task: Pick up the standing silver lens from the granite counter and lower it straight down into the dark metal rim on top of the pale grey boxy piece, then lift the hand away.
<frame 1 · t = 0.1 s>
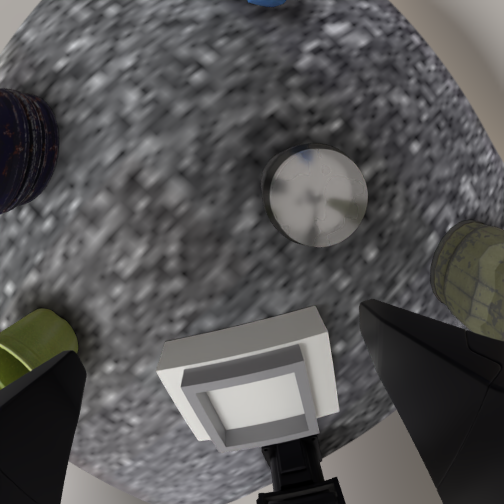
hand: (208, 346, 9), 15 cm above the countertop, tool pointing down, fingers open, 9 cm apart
thermos: (462, 263, 25), on the countertop
grey boxy piece: (252, 366, 27), on the countertop
lens: (295, 183, 22), on the countertop
storage jar: (17, 149, 19), on the countertop
plant pot: (53, 333, 25), on the countertop
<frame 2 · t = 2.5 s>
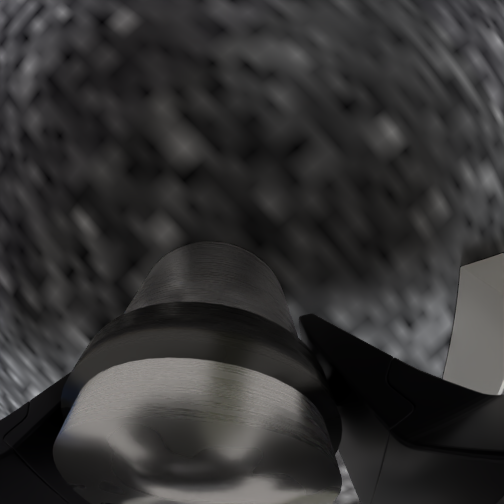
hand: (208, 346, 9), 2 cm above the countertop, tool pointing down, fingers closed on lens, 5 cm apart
grey boxy piece: (501, 352, 13), on the countertop
lens: (212, 311, 10), on the countertop, touching gripper
when the fingers open (7 cm above the countertop, at t = 6.9 s): lens drops 1 cm, resting on grey boxy piece.
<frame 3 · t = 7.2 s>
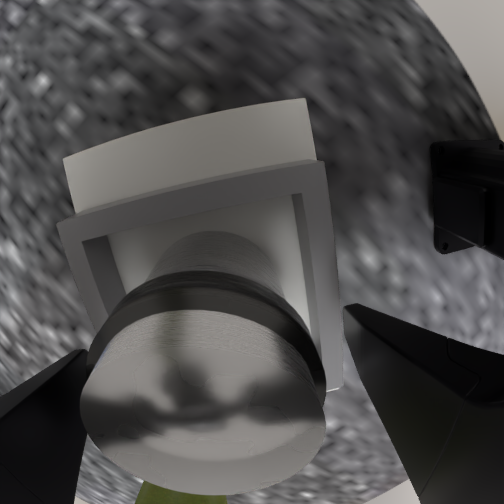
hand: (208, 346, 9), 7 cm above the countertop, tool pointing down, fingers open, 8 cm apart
grey boxy piece: (218, 258, 16), on the countertop
lens: (214, 294, 12), point 4 cm above the countertop, touching grey boxy piece
plant pot: (186, 465, 22), on the countertop
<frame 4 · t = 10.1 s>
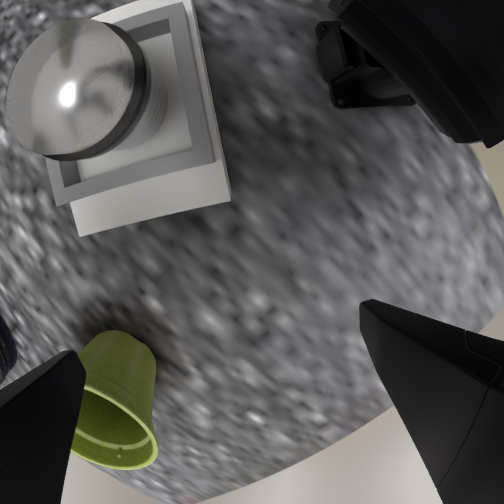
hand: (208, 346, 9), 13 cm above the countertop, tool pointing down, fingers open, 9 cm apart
grey boxy piece: (143, 112, 18), on the countertop
lens: (123, 105, 14), point 4 cm above the countertop, touching grey boxy piece
plant pot: (123, 357, 24), on the countertop
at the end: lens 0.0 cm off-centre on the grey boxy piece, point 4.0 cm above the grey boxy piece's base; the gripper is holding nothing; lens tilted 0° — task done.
